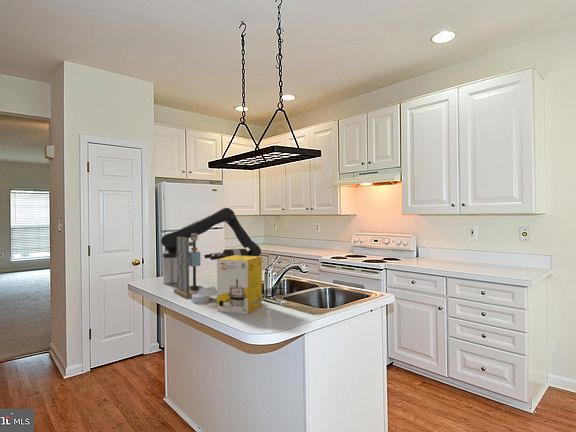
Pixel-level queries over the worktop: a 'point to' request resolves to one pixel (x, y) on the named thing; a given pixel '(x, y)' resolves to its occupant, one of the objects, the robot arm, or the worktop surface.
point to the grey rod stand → (185, 267)
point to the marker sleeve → (194, 258)
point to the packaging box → (239, 284)
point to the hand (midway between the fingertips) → (207, 257)
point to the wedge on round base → (203, 295)
